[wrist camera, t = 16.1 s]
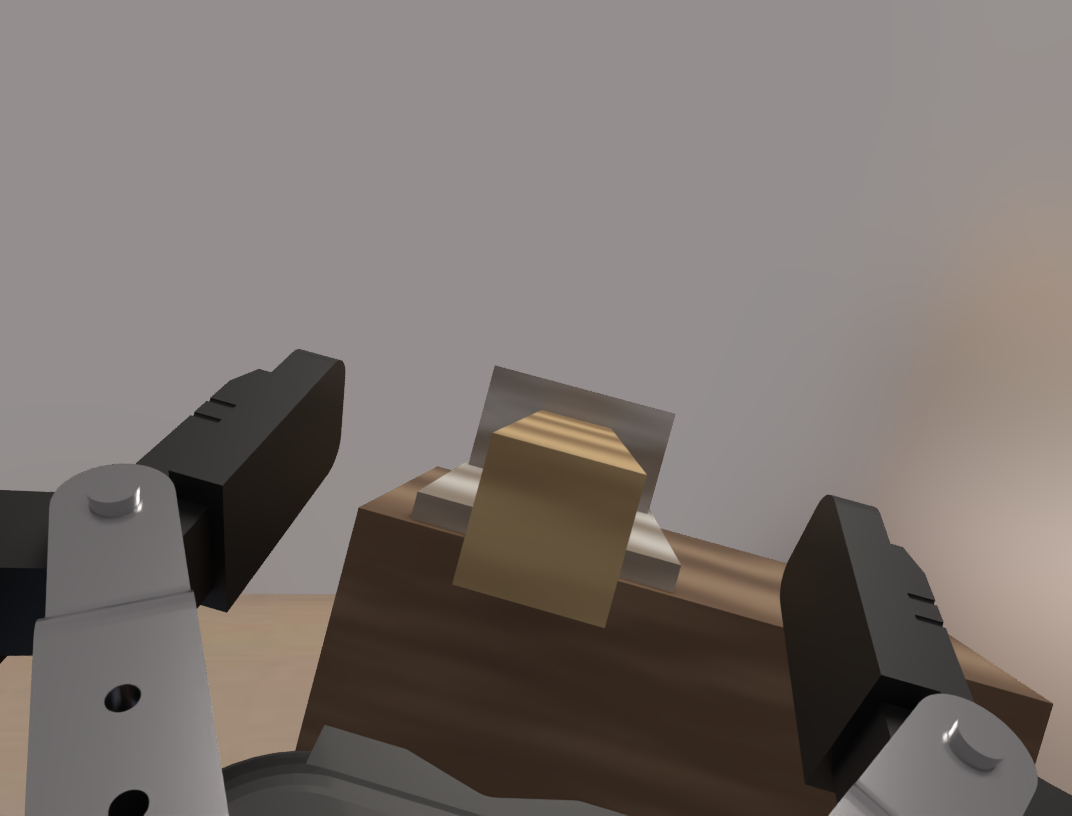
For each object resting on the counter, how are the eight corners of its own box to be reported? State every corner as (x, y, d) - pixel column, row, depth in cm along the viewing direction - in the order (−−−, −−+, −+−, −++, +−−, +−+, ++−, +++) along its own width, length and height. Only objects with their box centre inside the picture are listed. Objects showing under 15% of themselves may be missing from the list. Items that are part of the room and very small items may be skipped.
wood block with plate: (727, 662, 16) (789, 441, 16) (334, 550, 17) (390, 334, 16) (643, 506, 38) (669, 412, 38) (475, 459, 39) (500, 367, 38)
